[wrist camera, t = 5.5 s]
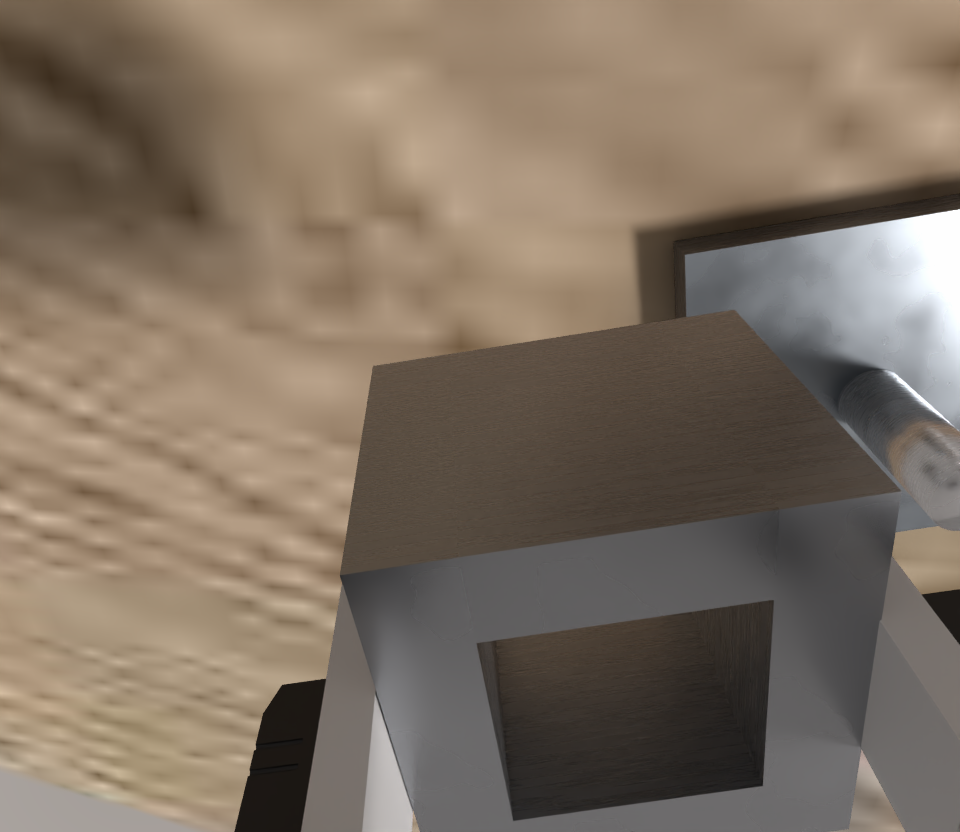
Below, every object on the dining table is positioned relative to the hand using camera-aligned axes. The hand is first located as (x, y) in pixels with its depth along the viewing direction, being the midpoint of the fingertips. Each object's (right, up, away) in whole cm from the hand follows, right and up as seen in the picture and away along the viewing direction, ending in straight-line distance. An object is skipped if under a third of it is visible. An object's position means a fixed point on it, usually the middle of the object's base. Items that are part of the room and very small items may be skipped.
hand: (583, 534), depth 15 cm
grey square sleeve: (0, +1, +1) cm, 2 cm away
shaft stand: (+13, +4, +16) cm, 21 cm away
